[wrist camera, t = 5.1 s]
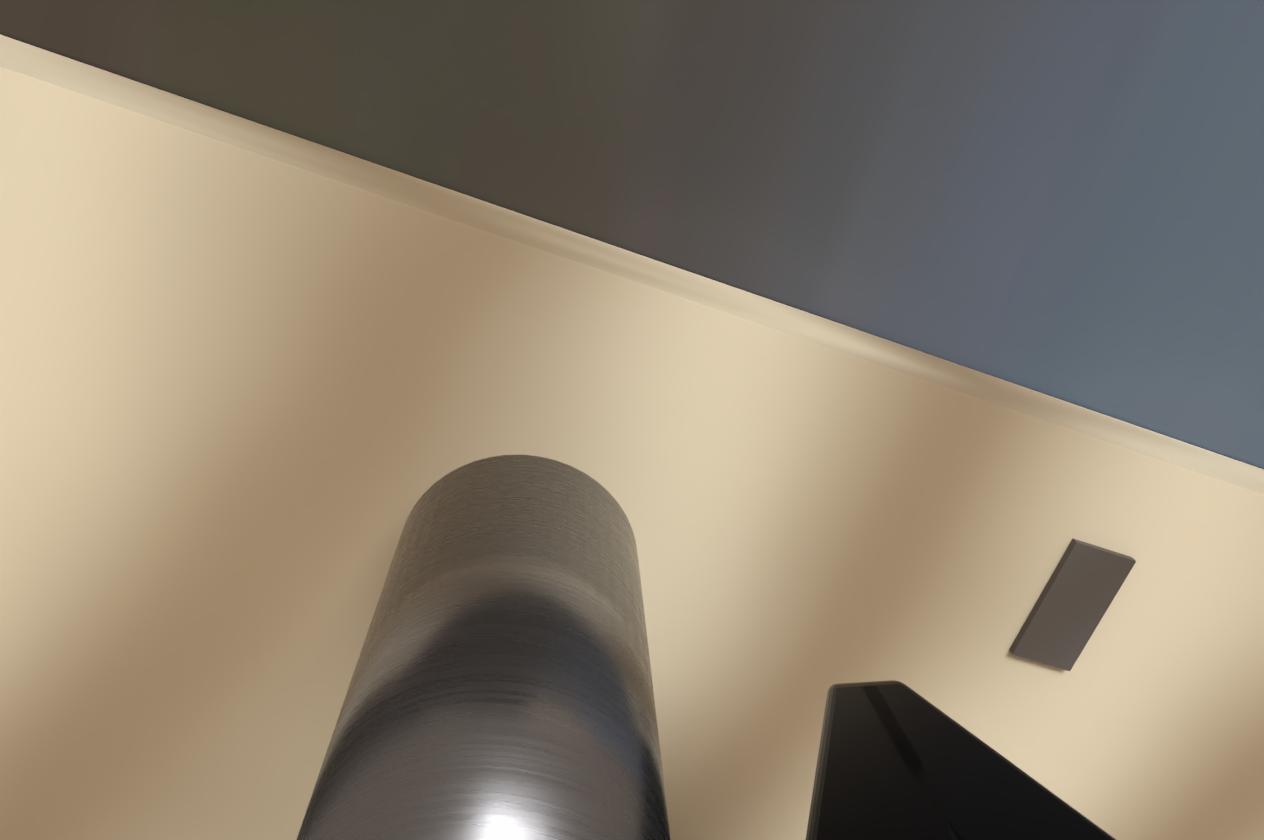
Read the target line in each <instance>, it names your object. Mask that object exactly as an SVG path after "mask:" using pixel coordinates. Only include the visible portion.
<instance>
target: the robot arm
mask: <svg viewBox="0 0 1264 840" xmlns="http://www.w3.org/2000/svg"><path fill="white" fill-rule="evenodd" d="M806 840H1116V839H1115V838H1114V837H1112V836H1111V835H1110V834H1108V833H1107V832H1105V831H1104V830H1103V829H1101V828H1100V827H1099V826H1097V825H1096V824H1095V823H1093V822H1092V821H1091V820H1089V819H1088V818H1086V817H1085V816H1084V815H1082V814H1081V813H1080V812H1078V811H1077V810H1076V809H1074V808H1073V807H1071V806H1070V805H1069V804H1067V803H1066V802H1065V801H1063V800H1062V799H1061V798H1059V797H1058V796H1057V795H1055V794H1054V793H1052V792H1051V791H1050V790H1048V789H1047V788H1046V787H1044V786H1043V785H1042V784H1040V783H1039V782H1037V781H1036V780H1035V779H1033V778H1032V777H1031V776H1029V775H1028V774H1027V773H1025V772H1024V771H1023V770H1021V769H1020V768H1018V767H1017V766H1016V765H1014V764H1013V763H1012V762H1010V761H1009V760H1008V759H1006V758H1005V757H1003V756H1002V755H1001V754H999V753H998V752H997V751H995V750H994V749H993V748H991V747H990V746H989V745H987V744H986V743H984V742H983V741H982V740H980V739H979V738H978V737H976V736H975V735H974V734H972V733H971V732H969V731H968V730H967V729H965V728H964V727H963V726H961V725H960V724H959V723H957V722H956V721H955V720H953V719H952V718H950V717H949V716H948V715H946V714H945V713H944V712H942V711H941V710H940V709H938V708H937V707H935V706H934V705H933V704H931V703H930V702H929V701H927V700H926V699H925V698H923V697H922V696H921V695H919V694H918V693H916V692H915V691H914V690H912V689H911V688H910V687H908V686H907V685H905V684H904V683H902V682H899V681H895V680H890V681H873V682H856V683H839V684H833V685H832V686H830V688H829V689H828V693H827V698H826V705H825V712H824V718H823V725H822V732H821V739H820V745H819V752H818V759H817V766H816V772H815V779H814V786H813V793H812V799H811V806H810V813H809V820H808V826H807V833H806Z"/></svg>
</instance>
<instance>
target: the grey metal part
mask: <svg viewBox="0 0 1264 840" xmlns="http://www.w3.org/2000/svg"><path fill="white" fill-rule="evenodd" d="M296 840H671V839H670V830H669V821H668V813H667V804H666V795H665V787H664V778H663V769H662V761H661V752H660V744H659V735H658V726H657V718H656V709H655V700H654V692H653V683H652V674H651V666H650V657H649V648H648V640H647V631H646V622H645V614H644V605H643V596H642V588H641V579H640V571H639V562H638V553H637V546H636V540H635V537H634V533H633V530H632V527H631V525H630V523H629V520H628V518H627V516H626V514H625V513H624V511H623V510H622V508H621V506H620V505H619V503H618V502H617V501H616V500H615V499H614V497H613V496H612V495H611V494H610V493H609V492H608V491H607V490H606V489H605V488H604V487H603V486H602V485H601V484H599V483H598V482H597V481H596V480H594V479H593V478H591V477H590V476H588V475H587V474H585V473H584V472H582V471H580V470H578V469H576V468H574V467H572V466H570V465H567V464H565V463H562V462H559V461H556V460H553V459H548V458H544V457H540V456H531V455H502V456H494V457H489V458H485V459H481V460H477V461H474V462H471V463H469V464H466V465H464V466H461V467H459V468H457V469H455V470H454V471H452V472H450V473H448V474H446V475H445V476H444V477H442V478H441V479H440V480H438V481H437V482H436V483H434V484H433V485H432V486H431V487H430V488H429V489H428V490H427V491H426V492H425V493H424V494H423V495H422V496H421V498H420V499H419V500H418V502H417V503H416V504H415V505H414V507H413V509H412V511H411V512H410V514H409V516H408V518H407V520H406V522H405V525H404V528H403V530H402V533H401V536H400V539H399V542H398V545H397V548H396V551H395V554H394V556H393V559H392V562H391V565H390V568H389V571H388V574H387V577H386V580H385V583H384V586H383V589H382V591H381V594H380V597H379V600H378V603H377V606H376V609H375V612H374V615H373V618H372V621H371V624H370V626H369V629H368V632H367V635H366V638H365V641H364V644H363V647H362V650H361V653H360V656H359V659H358V661H357V664H356V667H355V670H354V673H353V676H352V679H351V682H350V685H349V688H348V691H347V694H346V696H345V699H344V702H343V705H342V708H341V711H340V714H339V717H338V720H337V723H336V726H335V729H334V731H333V734H332V737H331V740H330V743H329V746H328V749H327V752H326V755H325V758H324V761H323V764H322V767H321V769H320V772H319V775H318V778H317V781H316V784H315V787H314V790H313V793H312V796H311V799H310V802H309V804H308V807H307V810H306V813H305V816H304V819H303V822H302V825H301V828H300V831H299V834H298V837H297V839H296Z"/></svg>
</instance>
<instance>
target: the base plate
mask: <svg viewBox="0 0 1264 840" xmlns="http://www.w3.org/2000/svg"><path fill="white" fill-rule="evenodd" d="M502 455H531V456H540V457H544V458H548V459H553V460H556V461H559V462H562V463H565V464H567V465H570V466H572V467H574V468H576V469H578V470H580V471H582V472H584V473H585V474H587V475H588V476H590V477H591V478H593V479H594V480H596V481H597V482H598V483H599V484H601V485H602V486H603V487H604V488H605V489H606V490H607V491H608V492H609V493H610V494H611V495H612V496H613V497H614V499H615V500H616V501H617V502H618V503H619V505H620V506H621V508H622V510H623V511H624V513H625V514H626V516H627V518H628V520H629V523H630V525H631V527H632V530H633V533H634V537H635V540H636V546H637V553H638V562H639V571H640V579H641V588H642V596H643V605H644V614H645V622H646V631H647V640H648V648H649V657H650V666H651V674H652V683H653V692H654V700H655V709H656V718H657V726H658V735H659V744H660V752H661V761H662V769H663V778H664V787H665V795H666V804H667V813H668V821H669V830H670V839H671V840H806V833H807V826H808V820H809V813H810V806H811V799H812V793H813V786H814V779H815V772H816V766H817V759H818V752H819V745H820V739H821V732H822V725H823V718H824V712H825V705H826V698H827V693H828V689H829V688H830V686H832V685H833V684H839V683H856V682H873V681H890V680H895V681H899V682H902V683H904V684H905V685H907V686H908V687H910V688H911V689H912V690H914V691H915V692H916V693H918V694H919V695H921V696H922V697H923V698H925V699H926V700H927V701H929V702H930V703H931V704H933V705H934V706H935V707H937V708H938V709H940V710H941V711H942V712H944V713H945V714H946V715H948V716H949V717H950V718H952V719H953V720H955V721H956V722H957V723H959V724H960V725H961V726H963V727H964V728H965V729H967V730H968V731H969V732H971V733H972V734H974V735H975V736H976V737H978V738H979V739H980V740H982V741H983V742H984V743H986V744H987V745H989V746H990V747H991V748H993V749H994V750H995V751H997V752H998V753H999V754H1001V755H1002V756H1003V757H1005V758H1006V759H1008V760H1009V761H1010V762H1012V763H1013V764H1014V765H1016V766H1017V767H1018V768H1020V769H1021V770H1023V771H1024V772H1025V773H1027V774H1028V775H1029V776H1031V777H1032V778H1033V779H1035V780H1036V781H1037V782H1039V783H1040V784H1042V785H1043V786H1044V787H1046V788H1047V789H1048V790H1050V791H1051V792H1052V793H1054V794H1055V795H1057V796H1058V797H1059V798H1061V799H1062V800H1063V801H1065V802H1066V803H1067V804H1069V805H1070V806H1071V807H1073V808H1074V809H1076V810H1077V811H1078V812H1080V813H1081V814H1082V815H1084V816H1085V817H1086V818H1088V819H1089V820H1091V821H1092V822H1093V823H1095V824H1096V825H1097V826H1099V827H1100V828H1101V829H1103V830H1104V831H1105V832H1107V833H1108V834H1110V835H1111V836H1112V837H1114V838H1115V839H1116V840H1264V470H1263V469H1261V468H1258V467H1255V466H1252V465H1249V464H1246V463H1243V462H1240V461H1237V460H1234V459H1231V458H1229V457H1226V456H1223V455H1220V454H1217V453H1214V452H1211V451H1208V450H1205V449H1202V448H1200V447H1197V446H1194V445H1191V444H1188V443H1185V442H1182V441H1179V440H1176V439H1173V438H1170V437H1168V436H1165V435H1162V434H1159V433H1156V432H1153V431H1150V430H1147V429H1144V428H1141V427H1139V426H1136V425H1133V424H1130V423H1127V422H1124V421H1121V420H1118V419H1115V418H1112V417H1109V416H1107V415H1104V414H1101V413H1098V412H1095V411H1092V410H1089V409H1086V408H1083V407H1080V406H1078V405H1075V404H1072V403H1069V402H1066V401H1063V400H1060V399H1057V398H1054V397H1051V396H1048V395H1046V394H1043V393H1040V392H1037V391H1034V390H1031V389H1028V388H1025V387H1022V386H1019V385H1017V384H1014V383H1011V382H1008V381H1005V380H1002V379H999V378H996V377H993V376H990V375H987V374H985V373H982V372H979V371H976V370H973V369H970V368H967V367H964V366H961V365H958V364H956V363H953V362H950V361H947V360H944V359H941V358H938V357H935V356H932V355H929V354H927V353H924V352H921V351H918V350H915V349H912V348H909V347H906V346H903V345H900V344H897V343H895V342H892V341H889V340H886V339H883V338H880V337H877V336H874V335H871V334H868V333H866V332H863V331H860V330H857V329H854V328H851V327H848V326H845V325H842V324H839V323H836V322H834V321H831V320H828V319H825V318H822V317H819V316H816V315H813V314H810V313H807V312H805V311H802V310H799V309H796V308H793V307H790V306H787V305H784V304H781V303H778V302H775V301H773V300H770V299H767V298H764V297H761V296H758V295H755V294H752V293H749V292H746V291H744V290H741V289H738V288H735V287H732V286H729V285H726V284H723V283H720V282H717V281H714V280H712V279H709V278H706V277H703V276H700V275H697V274H694V273H691V272H688V271H685V270H683V269H680V268H677V267H674V266H671V265H668V264H665V263H662V262H659V261H656V260H653V259H651V258H648V257H645V256H642V255H639V254H636V253H633V252H630V251H627V250H624V249H622V248H619V247H616V246H613V245H610V244H607V243H604V242H601V241H598V240H595V239H592V238H590V237H587V236H584V235H581V234H578V233H575V232H572V231H569V230H566V229H563V228H561V227H558V226H555V225H552V224H549V223H546V222H543V221H540V220H537V219H534V218H531V217H529V216H526V215H523V214H520V213H517V212H514V211H511V210H508V209H505V208H502V207H500V206H497V205H494V204H491V203H488V202H485V201H482V200H479V199H476V198H473V197H470V196H468V195H465V194H462V193H459V192H456V191H453V190H450V189H447V188H444V187H441V186H439V185H436V184H433V183H430V182H427V181H424V180H421V179H418V178H415V177H412V176H409V175H407V174H404V173H401V172H398V171H395V170H392V169H389V168H386V167H383V166H380V165H378V164H375V163H372V162H369V161H366V160H363V159H360V158H357V157H354V156H351V155H349V154H346V153H343V152H340V151H337V150H334V149H331V148H328V147H325V146H322V145H319V144H317V143H314V142H311V141H308V140H305V139H302V138H299V137H296V136H293V135H290V134H288V133H285V132H282V131H279V130H276V129H273V128H270V127H267V126H264V125H261V124H258V123H256V122H253V121H250V120H247V119H244V118H241V117H238V116H235V115H232V114H229V113H227V112H224V111H221V110H218V109H215V108H212V107H209V106H206V105H203V104H200V103H197V102H195V101H192V100H189V99H186V98H183V97H180V96H177V95H174V94H171V93H168V92H166V91H163V90H160V89H157V88H154V87H151V86H148V85H145V84H142V83H139V82H136V81H134V80H131V79H128V78H125V77H122V76H119V75H116V74H113V73H110V72H107V71H105V70H102V69H99V68H96V67H93V66H90V65H87V64H84V63H81V62H78V61H75V60H73V59H70V58H67V57H64V56H61V55H58V54H55V53H52V52H49V51H46V50H44V49H41V48H38V47H35V46H32V45H29V44H26V43H23V42H20V41H17V40H14V39H12V38H9V37H6V36H3V35H0V840H296V839H297V837H298V834H299V831H300V828H301V825H302V822H303V819H304V816H305V813H306V810H307V807H308V804H309V802H310V799H311V796H312V793H313V790H314V787H315V784H316V781H317V778H318V775H319V772H320V769H321V767H322V764H323V761H324V758H325V755H326V752H327V749H328V746H329V743H330V740H331V737H332V734H333V731H334V729H335V726H336V723H337V720H338V717H339V714H340V711H341V708H342V705H343V702H344V699H345V696H346V694H347V691H348V688H349V685H350V682H351V679H352V676H353V673H354V670H355V667H356V664H357V661H358V659H359V656H360V653H361V650H362V647H363V644H364V641H365V638H366V635H367V632H368V629H369V626H370V624H371V621H372V618H373V615H374V612H375V609H376V606H377V603H378V600H379V597H380V594H381V591H382V589H383V586H384V583H385V580H386V577H387V574H388V571H389V568H390V565H391V562H392V559H393V556H394V554H395V551H396V548H397V545H398V542H399V539H400V536H401V533H402V530H403V528H404V525H405V522H406V520H407V518H408V516H409V514H410V512H411V511H412V509H413V507H414V505H415V504H416V503H417V502H418V500H419V499H420V498H421V496H422V495H423V494H424V493H425V492H426V491H427V490H428V489H429V488H430V487H431V486H432V485H433V484H434V483H436V482H437V481H438V480H440V479H441V478H442V477H444V476H445V475H446V474H448V473H450V472H452V471H454V470H455V469H457V468H459V467H461V466H464V465H466V464H469V463H471V462H474V461H477V460H481V459H485V458H489V457H494V456H502Z"/></svg>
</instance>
